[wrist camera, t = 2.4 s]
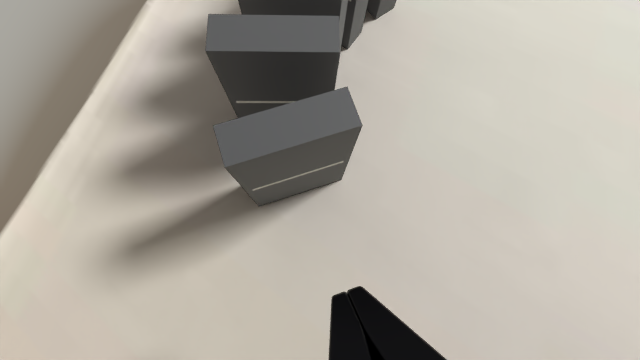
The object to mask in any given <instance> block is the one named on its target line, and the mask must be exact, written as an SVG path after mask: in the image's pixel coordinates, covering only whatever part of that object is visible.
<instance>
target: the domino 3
mask: <svg viewBox="0 0 640 360" xmlns="http://www.w3.org/2000/svg"><path fill="white" fill-rule="evenodd" d="M213 127H214V131H215V134H216V138H217V141H218V145H219V149H220V152H221V156H222V159H223V163H224V166H225V168H226V169H227V170H228V172H229V173H230V174H231V175H232V176H233V177H234V178H235V180H236V181H237V182H238V183H239V184H240V185H241V186H242V188H243V189H244V190H245V191H246V192H247V193H248V194H249V195H250V197H251V198H252V199H253V200H254V201H255V202H256V203H257V205H258V206H261V205H265V204H268V203H271V202H274V201H277V200H280V199H283V198H286V197H289V196H293V195H296V194H299V193H302V192H305V191H308V190H311V189H314V188H317V187H320V186H324V185H327V184H330V183H333V182H336V181H339V180H341V179H342V177H343V174H344V171H345V169H346V166H347V164H348V161H349V159H350V156H351V153H352V151H353V148H354V146H355V143H356V141H357V138H358V135H359V133H360V130H361V128H362V123H361V120H360V118H359V115H358V113H357V110H356V108H355V105H354V103H353V100H352V97H351V95H350V92H349V90H348V87H344V88H340V89H337V90H334V91H330V92H327V93H323V94H320V95H316V96H313V97H309V98H306V99H303V100H299V101H296V102H292V103H289V104H285V105H282V106H278V107H275V108H272V109H268V110H265V111H261V112H258V113H254V114H251V115H248V116H244V117H241V118H237V119H234V120H230V121H227V122H223V123H220V124H217V125H213Z"/></svg>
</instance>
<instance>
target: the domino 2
mask: <svg viewBox="0 0 640 360" xmlns="http://www.w3.org/2000/svg"><path fill="white" fill-rule="evenodd" d="M205 51H206V53H207V55H208V57H209V59H210V61H211V63H212V65H213V68H214V70H215V72H216V74H217V76H218V78H219V80H220V82H221V84H222V86H223V88H224V90H225V92H226V94H227V96H228V98H229V100H230V102H231V104H232V106H233V108H234V110H235V113H236V115H237V117H238V118H241V117H244V116H248V115H251V114H254V113H258V112H261V111H265V110H268V109H272V108H275V107H278V106H282V105H285V104H289V103H292V102H296V101H299V100H303V99H306V98H309V97H313V96H316V95H320V94H323V93H327V92H330V91H334V89H335V83H336V76H337V69H338V62H339V55H340V37H339V16H306V15H232V14H208V25H207V37H206V49H205Z"/></svg>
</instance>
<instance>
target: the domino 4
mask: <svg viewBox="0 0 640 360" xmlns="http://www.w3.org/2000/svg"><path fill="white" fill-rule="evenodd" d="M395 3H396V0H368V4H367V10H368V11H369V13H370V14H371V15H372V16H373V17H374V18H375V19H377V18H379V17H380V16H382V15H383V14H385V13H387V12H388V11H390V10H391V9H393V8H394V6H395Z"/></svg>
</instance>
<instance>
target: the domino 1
mask: <svg viewBox="0 0 640 360" xmlns="http://www.w3.org/2000/svg"><path fill="white" fill-rule="evenodd" d="M238 1H239V5H240V9H241V12H242V15H306V16H339V37H340V51H341V44H342V37H343V31H344V24H345V17H346V10H347V3H348V0H238ZM339 58H340V55H339ZM338 65H339V62H338Z"/></svg>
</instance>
